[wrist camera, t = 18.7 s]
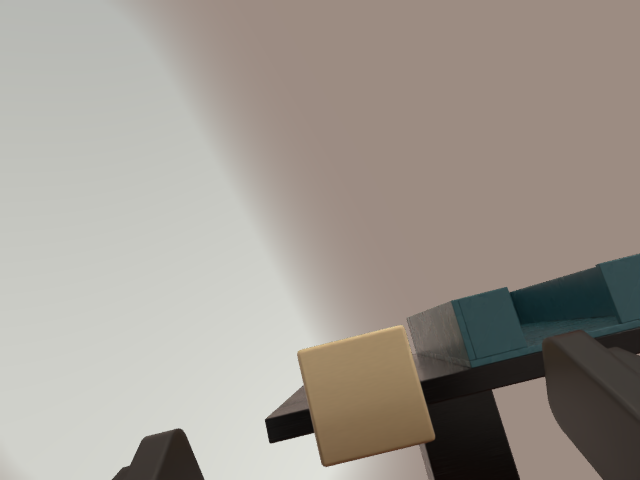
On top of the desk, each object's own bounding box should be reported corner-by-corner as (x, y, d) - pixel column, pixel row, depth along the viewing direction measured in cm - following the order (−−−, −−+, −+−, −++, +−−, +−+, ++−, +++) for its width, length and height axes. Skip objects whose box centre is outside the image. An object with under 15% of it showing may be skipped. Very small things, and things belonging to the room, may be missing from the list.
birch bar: (437, 441, 9) (404, 324, 10) (321, 469, 9) (295, 351, 10) (378, 364, 34) (370, 333, 35) (348, 371, 34) (340, 340, 35)
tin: (684, 316, 18) (655, 249, 19) (471, 368, 19) (450, 300, 19) (525, 326, 36) (513, 291, 37) (416, 353, 36) (406, 318, 37)
